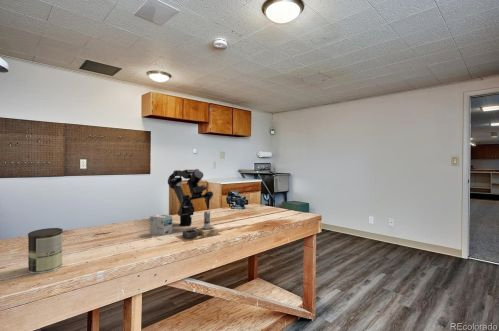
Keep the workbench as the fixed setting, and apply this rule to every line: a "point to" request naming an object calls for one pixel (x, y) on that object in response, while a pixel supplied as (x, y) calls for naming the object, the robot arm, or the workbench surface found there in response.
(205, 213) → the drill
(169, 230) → the light bulb box
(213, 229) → the socket rack board
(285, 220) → the workbench surface
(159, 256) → the workbench surface
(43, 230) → the coffee can
